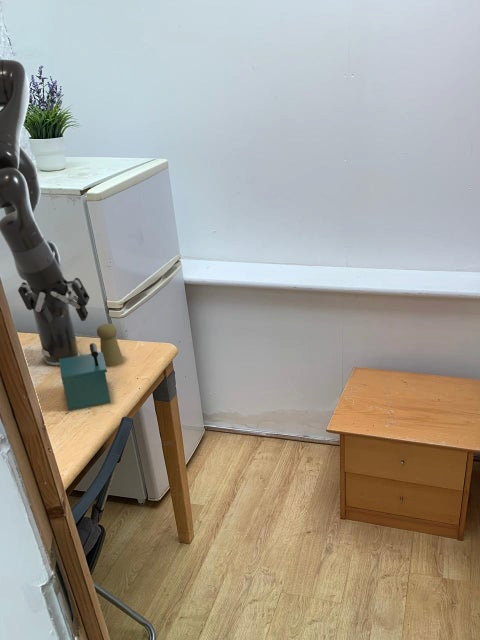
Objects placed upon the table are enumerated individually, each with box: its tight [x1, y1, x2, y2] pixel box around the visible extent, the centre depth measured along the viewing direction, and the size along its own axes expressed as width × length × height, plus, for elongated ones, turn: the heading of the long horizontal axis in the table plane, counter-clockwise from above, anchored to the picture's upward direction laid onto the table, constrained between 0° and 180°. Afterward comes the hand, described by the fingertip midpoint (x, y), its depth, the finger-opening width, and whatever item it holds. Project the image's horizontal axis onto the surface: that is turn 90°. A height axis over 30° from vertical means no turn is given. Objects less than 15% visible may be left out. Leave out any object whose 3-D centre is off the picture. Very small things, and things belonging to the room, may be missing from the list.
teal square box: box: [61, 372, 112, 412], centre depth 153 cm, size 10×10×9 cm
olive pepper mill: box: [96, 323, 124, 367], centre depth 169 cm, size 6×6×11 cm
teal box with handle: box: [59, 342, 108, 381], centre depth 149 cm, size 10×10×5 cm
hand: (67, 319), depth 141 cm, fingers open, 8 cm apart
